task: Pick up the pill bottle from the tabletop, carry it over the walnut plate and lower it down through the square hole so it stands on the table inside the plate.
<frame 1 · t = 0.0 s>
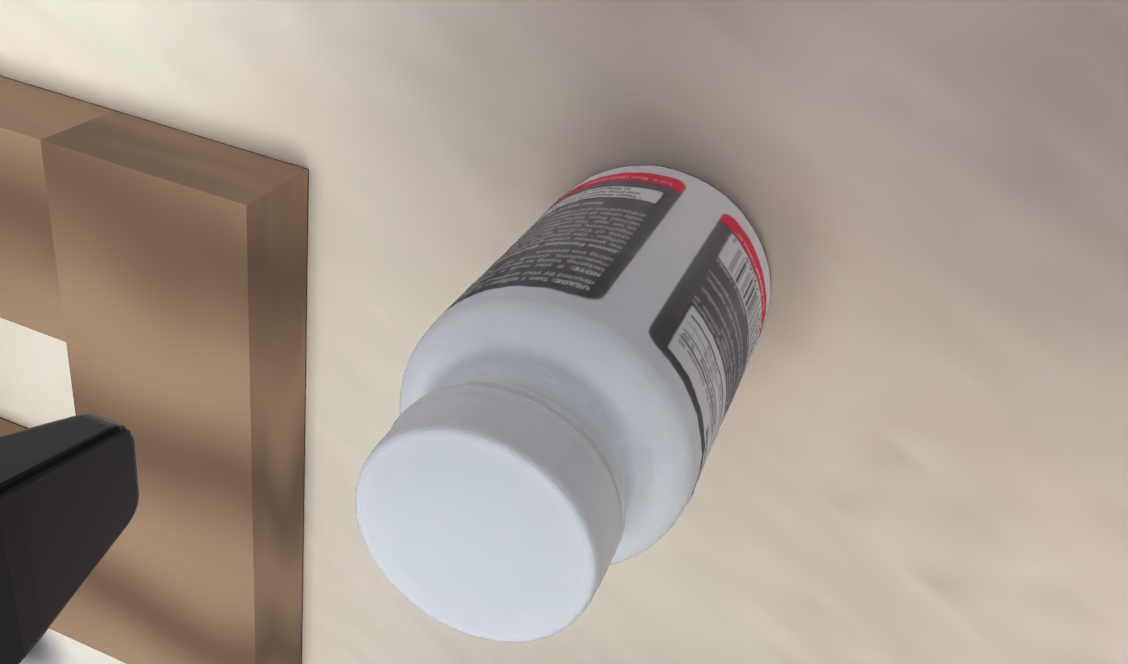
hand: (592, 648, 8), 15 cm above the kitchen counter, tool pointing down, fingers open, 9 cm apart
hole plate: (52, 361, 32), on the kitchen counter
pill bottle: (658, 271, 24), on the kitchen counter
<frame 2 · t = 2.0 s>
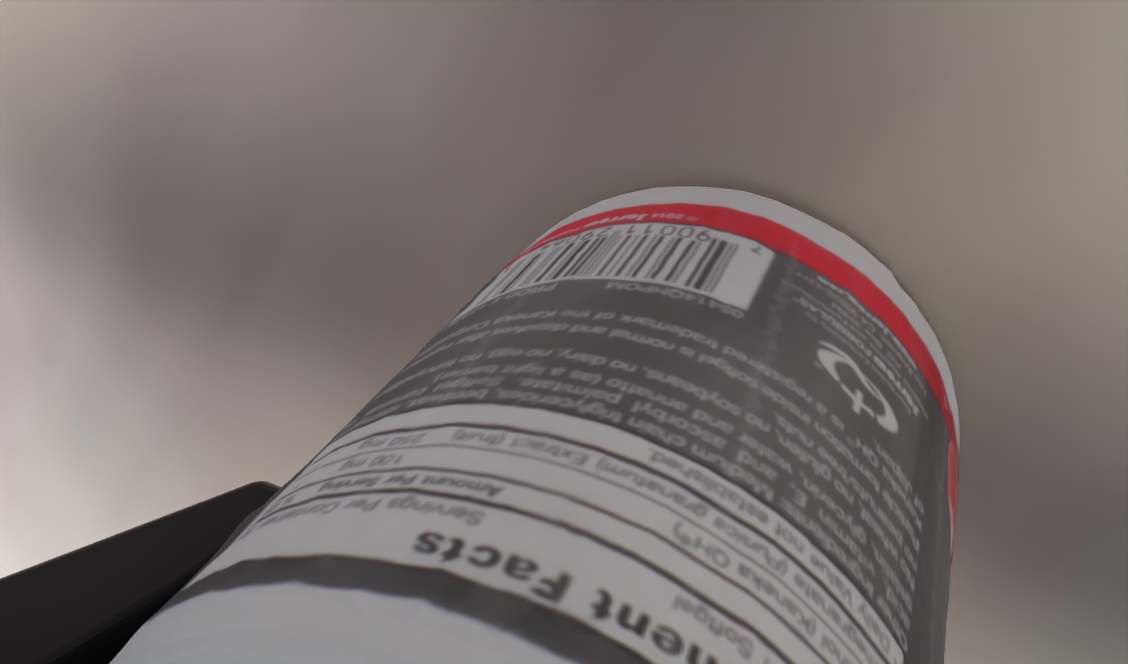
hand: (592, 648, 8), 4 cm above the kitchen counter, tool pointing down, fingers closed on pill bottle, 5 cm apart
pill bottle: (715, 390, 12), on the kitchen counter, touching gripper
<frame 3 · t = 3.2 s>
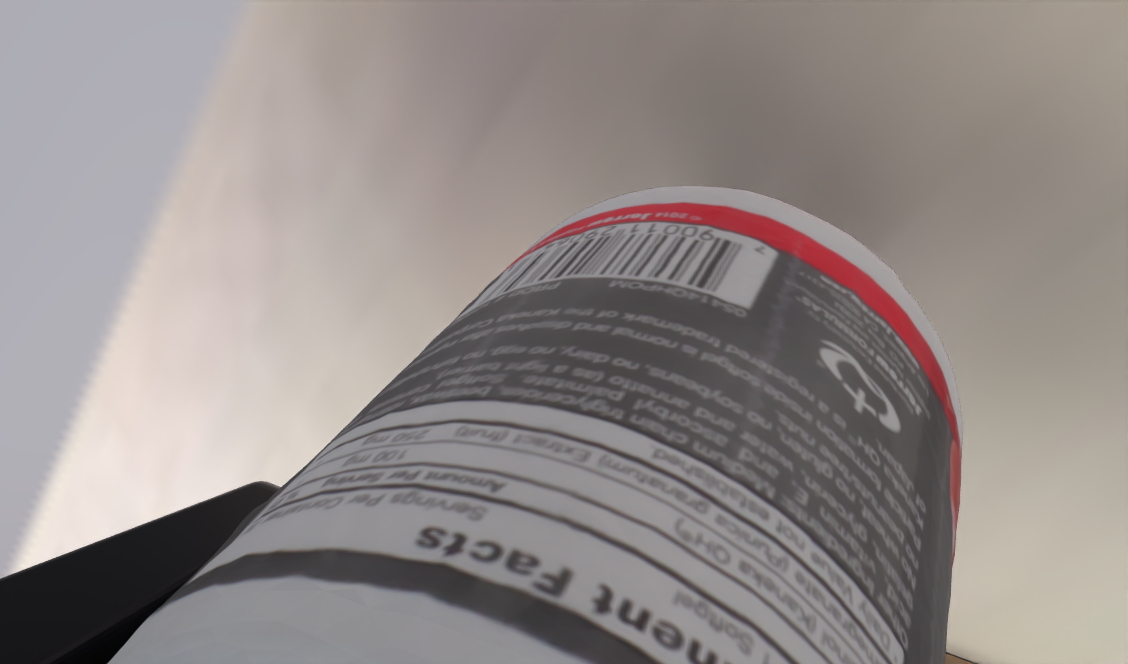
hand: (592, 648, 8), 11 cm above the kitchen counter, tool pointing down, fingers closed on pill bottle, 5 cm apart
pill bottle: (719, 389, 12), point 7 cm above the kitchen counter, touching gripper
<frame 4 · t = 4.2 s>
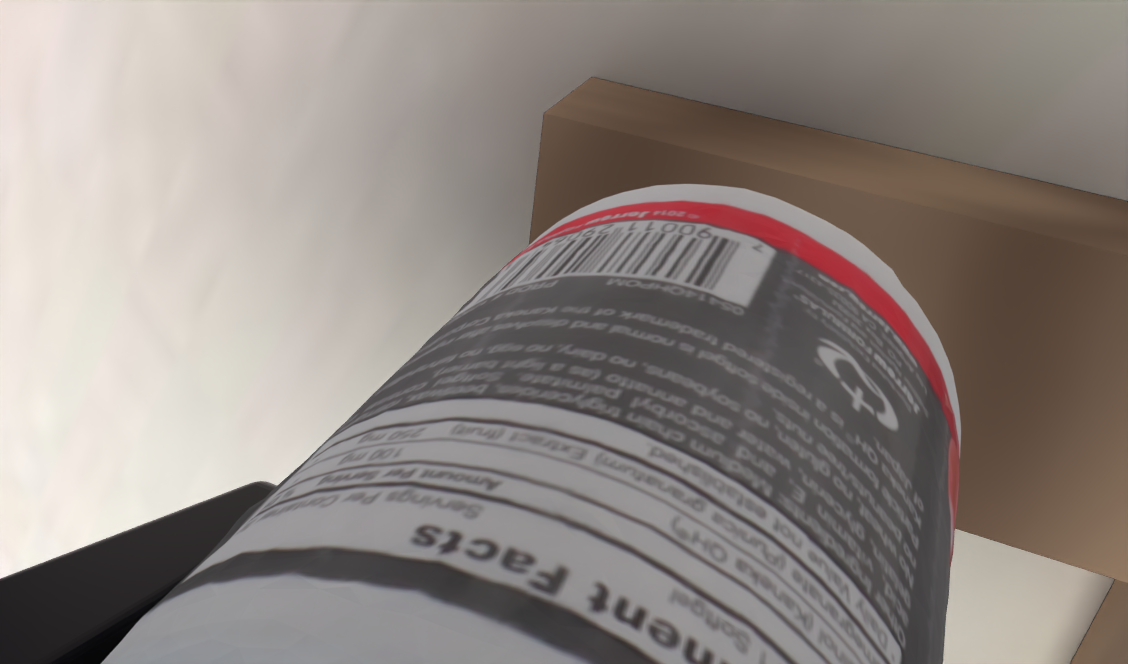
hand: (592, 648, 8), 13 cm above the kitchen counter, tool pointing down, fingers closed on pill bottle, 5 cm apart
hole plate: (929, 577, 22), on the kitchen counter
pill bottle: (717, 388, 12), point 9 cm above the kitchen counter, touching gripper
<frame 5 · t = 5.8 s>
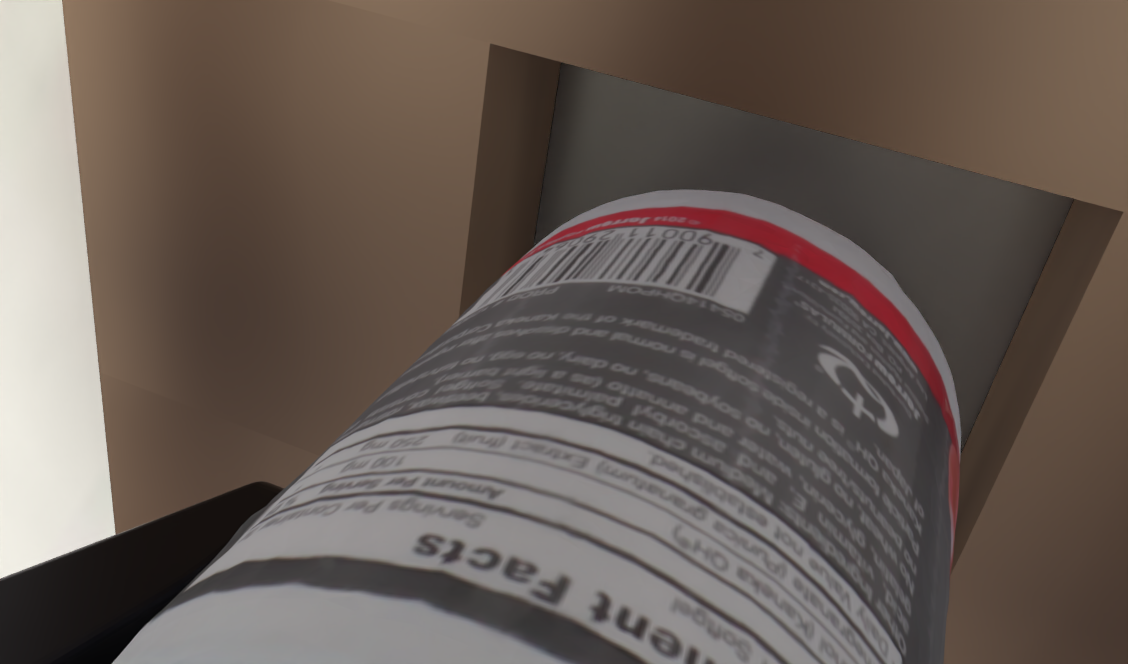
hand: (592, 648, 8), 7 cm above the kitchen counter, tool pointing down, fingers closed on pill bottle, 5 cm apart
hole plate: (754, 295, 14), on the kitchen counter
pill bottle: (717, 393, 12), point 3 cm above the kitchen counter, touching gripper
when the fingers open (5 cm above the kitchen counter, at t = 6.8 s): pill bottle stays where it is, resting in hole plate.
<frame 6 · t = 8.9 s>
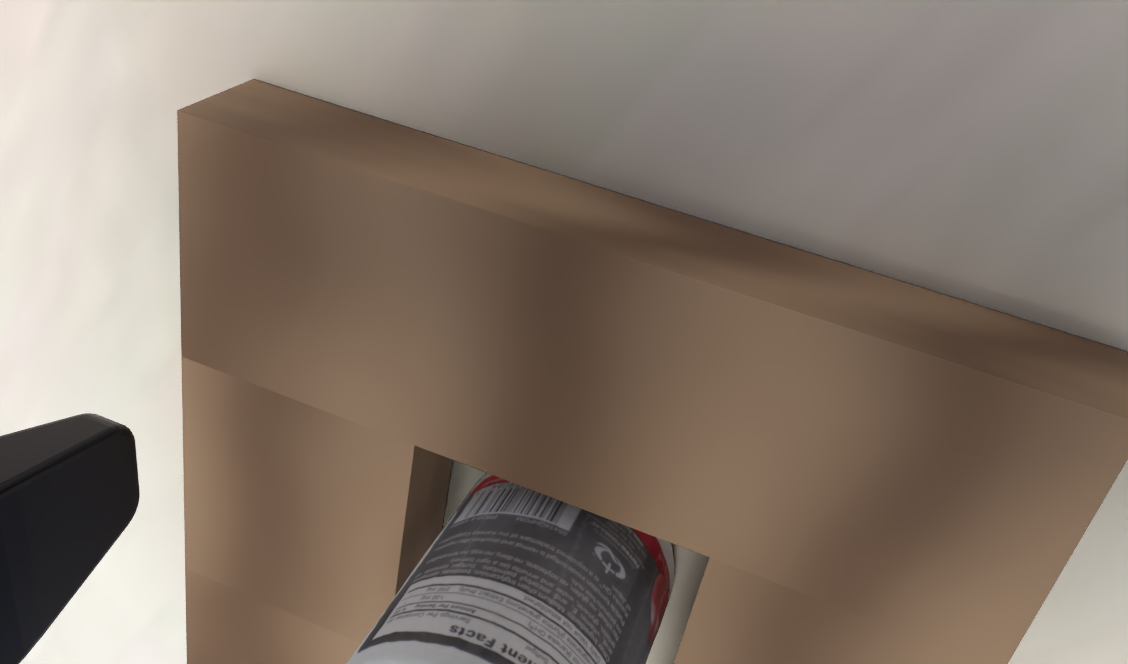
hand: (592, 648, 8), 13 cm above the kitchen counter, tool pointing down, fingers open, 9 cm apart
hole plate: (569, 541, 25), on the kitchen counter
pill bottle: (574, 535, 25), resting in hole plate
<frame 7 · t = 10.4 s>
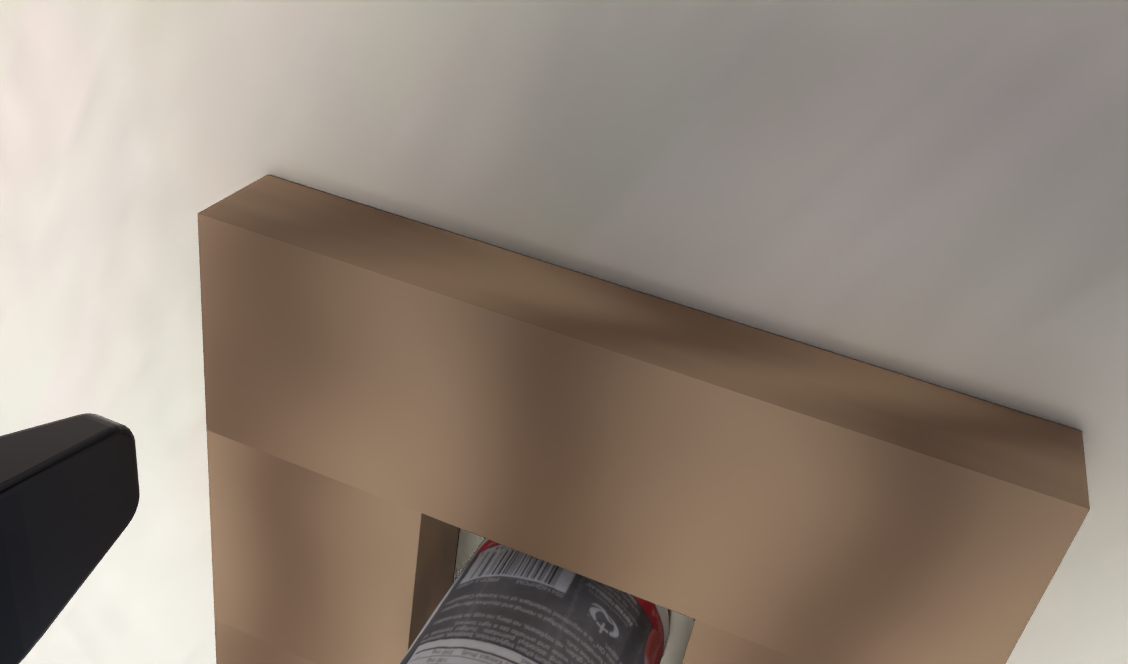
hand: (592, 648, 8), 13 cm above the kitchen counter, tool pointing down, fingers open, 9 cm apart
hole plate: (571, 594, 27), on the kitchen counter
pill bottle: (576, 588, 27), resting in hole plate
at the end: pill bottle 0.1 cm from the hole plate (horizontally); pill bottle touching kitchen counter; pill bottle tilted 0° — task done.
